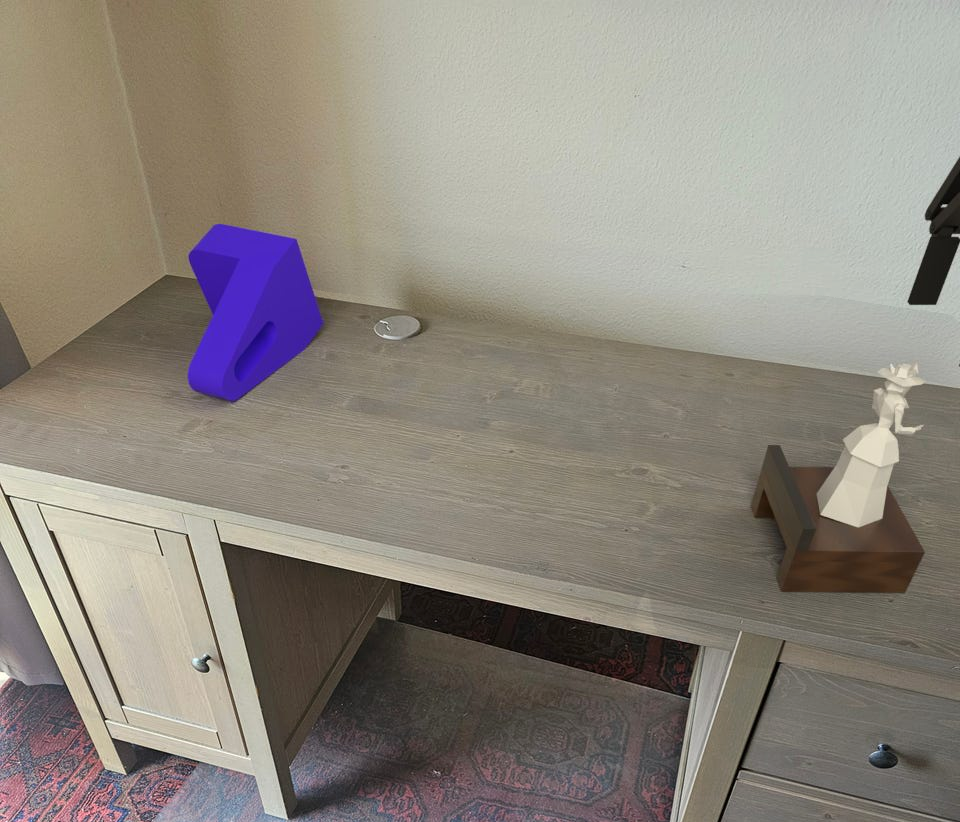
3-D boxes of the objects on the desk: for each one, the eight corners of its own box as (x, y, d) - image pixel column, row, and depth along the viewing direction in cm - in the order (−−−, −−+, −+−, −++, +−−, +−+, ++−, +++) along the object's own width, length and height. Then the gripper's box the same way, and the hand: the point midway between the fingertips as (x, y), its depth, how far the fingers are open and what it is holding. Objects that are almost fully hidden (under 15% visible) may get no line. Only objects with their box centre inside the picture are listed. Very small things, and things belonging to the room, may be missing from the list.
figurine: (896, 512, 97) (961, 365, 85) (844, 533, 95) (903, 384, 82) (849, 481, 102) (904, 336, 89) (799, 500, 99) (848, 353, 86)
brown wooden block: (861, 507, 108) (886, 445, 102) (905, 593, 97) (936, 530, 90) (750, 506, 108) (768, 444, 102) (781, 592, 97) (803, 528, 90)
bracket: (323, 323, 139) (239, 304, 143) (296, 238, 126) (205, 220, 130) (242, 433, 128) (155, 408, 133) (204, 353, 115) (108, 328, 120)
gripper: (942, 45, 78) (867, 280, 93) (1077, 125, 60) (958, 399, 75) (1025, 45, 78) (937, 280, 93) (1185, 124, 60) (1044, 399, 75)
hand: (946, 334), depth 84 cm, fingers open, 13 cm apart
